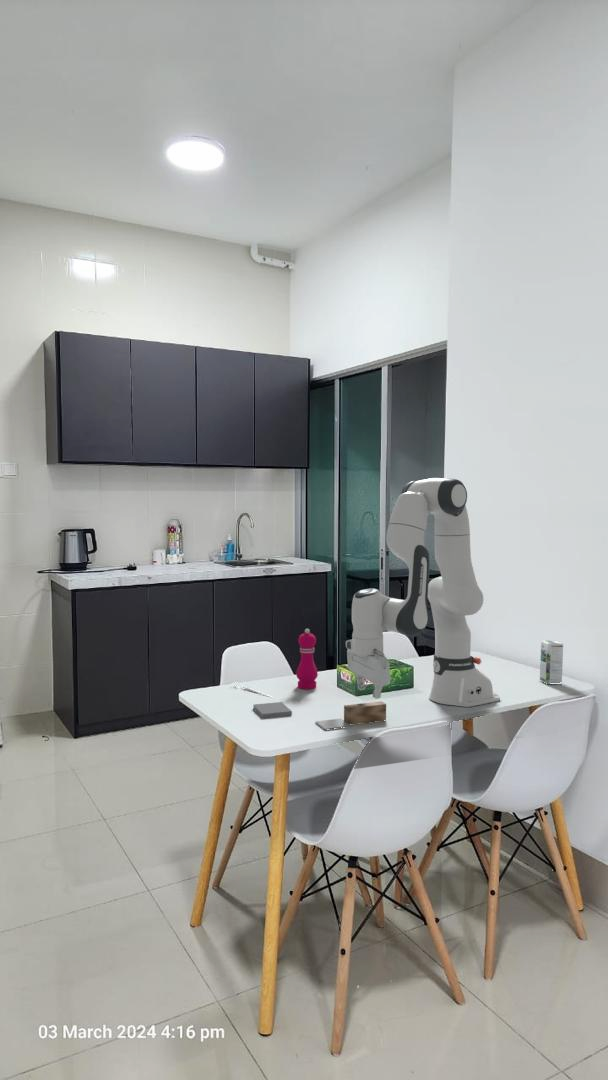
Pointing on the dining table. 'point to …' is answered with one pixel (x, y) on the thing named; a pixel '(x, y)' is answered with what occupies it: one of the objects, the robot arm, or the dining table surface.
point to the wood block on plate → (357, 715)
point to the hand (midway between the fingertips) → (369, 693)
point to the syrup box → (551, 661)
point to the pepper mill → (307, 661)
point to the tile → (272, 710)
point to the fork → (247, 688)
